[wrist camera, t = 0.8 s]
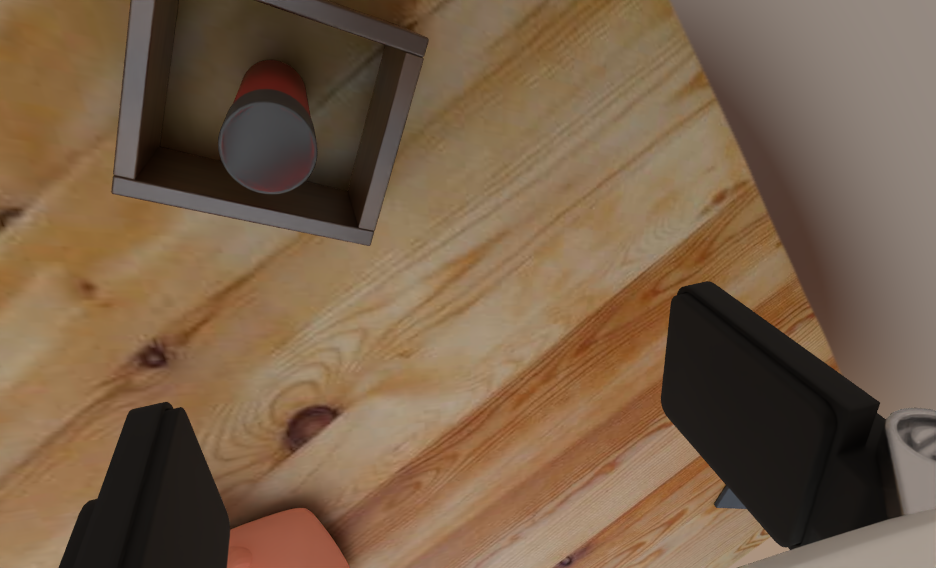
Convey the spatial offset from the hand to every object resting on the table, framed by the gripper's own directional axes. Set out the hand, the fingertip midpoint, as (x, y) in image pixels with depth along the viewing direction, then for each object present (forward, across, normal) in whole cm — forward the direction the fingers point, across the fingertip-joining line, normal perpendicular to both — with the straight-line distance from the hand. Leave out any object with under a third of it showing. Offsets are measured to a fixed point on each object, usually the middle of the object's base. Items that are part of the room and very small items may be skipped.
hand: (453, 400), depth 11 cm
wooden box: (+23, +3, -2) cm, 23 cm away
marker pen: (+23, +3, -2) cm, 23 cm away
